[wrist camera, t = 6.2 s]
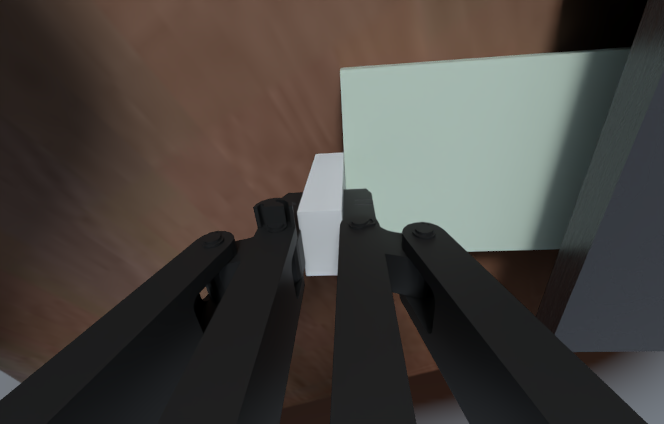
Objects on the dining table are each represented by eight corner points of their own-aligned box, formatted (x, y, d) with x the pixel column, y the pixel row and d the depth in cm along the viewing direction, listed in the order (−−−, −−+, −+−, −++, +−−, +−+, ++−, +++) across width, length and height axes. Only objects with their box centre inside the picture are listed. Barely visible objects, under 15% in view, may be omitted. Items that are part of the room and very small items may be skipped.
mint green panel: (348, 228, 20) (348, 254, 17) (341, 67, 15) (339, 70, 13) (561, 221, 19) (596, 248, 16) (623, 47, 14) (685, 45, 12)
